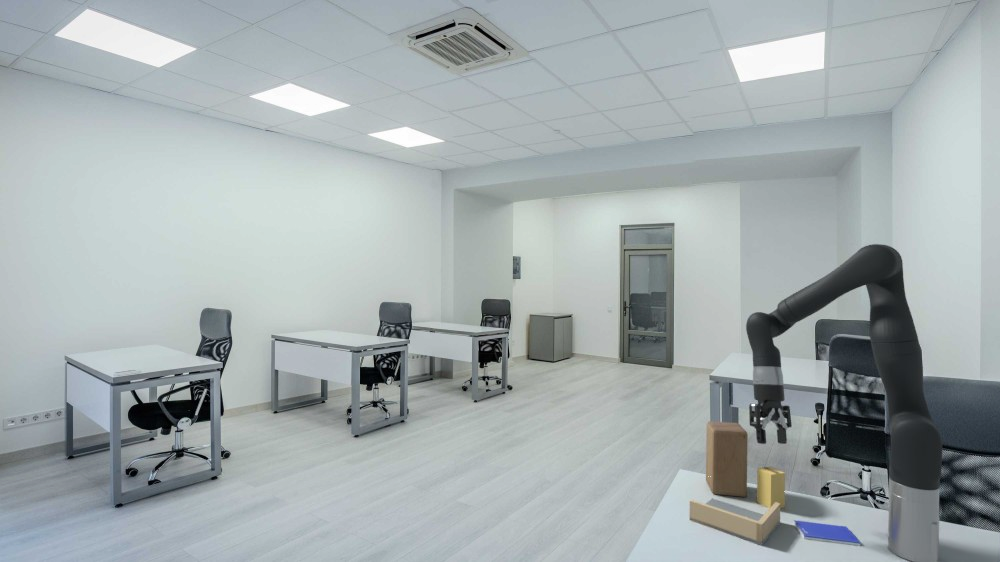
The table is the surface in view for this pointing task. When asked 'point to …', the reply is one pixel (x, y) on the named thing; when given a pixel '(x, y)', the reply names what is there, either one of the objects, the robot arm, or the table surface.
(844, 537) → the hard drive
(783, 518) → the table surface
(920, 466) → the robot arm
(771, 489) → the mustard block
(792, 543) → the table surface
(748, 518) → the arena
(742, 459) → the wooden block
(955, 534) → the table surface
